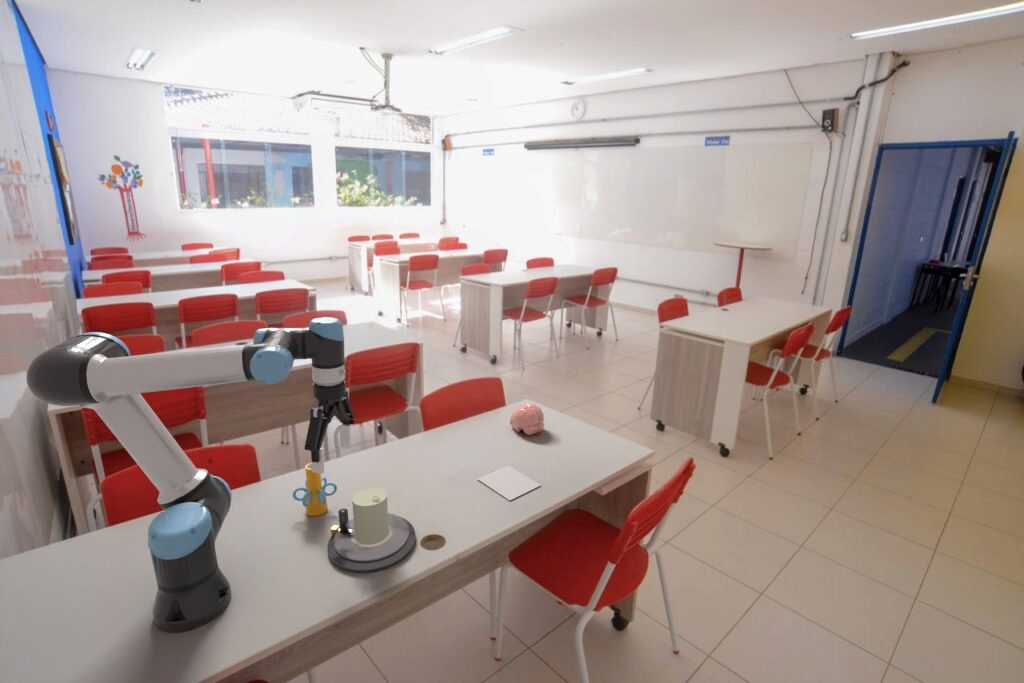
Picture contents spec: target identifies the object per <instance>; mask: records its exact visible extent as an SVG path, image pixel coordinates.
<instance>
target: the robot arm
mask: <svg viewBox="0 0 1024 683" xmlns="http://www.w3.org/2000/svg"><path fill="white" fill-rule="evenodd" d="M252 342H253V344H245V345H244V344H243V345H233V346H232V345H231V346H223V347H212V348H210V347H209V348H202V349H201V348H200V349H191V350H181V351H171V352H170V351H169V352H160V353H149V354H139V355H131V351H130V349H129V348H128V346H127V345H126V343H124V342H123V341H122V340H121V339H119V338H118V337H116V336H114V335H112V334H109V333H105V332H99V331H90V332H85V333H81V334H78V335H75V336H72V337H70V338H68V339H66V340H64V341H63V342H60V343H58V344H57V345H55V346H54V347H52V348H49V349H48V350H45V351H42V352H41V353H39V354H38V355H37V356H36V357H35V358H33V360H32V361H31V362H30V364H29V366H28V368H27V371H26V384H27V388H29V390H30V391H31V393H32V395H34V396H35V397H36V398H37V399H38V400H40V401H42V402H44V403H47V404H49V405H53V406H58V407H59V406H60V407H75V406H76V407H77V406H79V407H80V408H84V409H91V410H94V412H95V413H96V414H97V415H98V417H100V420H102V421H103V423H104V424H105V425H106V427H107V428H108V429H109V430H110V431H111V433H112V434H113V435H114V437H115V438H116V439H117V440H118V441H119V443H120V444H121V446H122V447H123V448H124V449H125V451H127V453H128V454H129V456H130V457H131V458H132V459H133V460H134V462H135V463H136V464H137V465H138V466H139V468H140V469H141V470H142V471H143V473H144V474H145V475H146V477H147V478H148V479H149V481H150V482H151V483H152V484H153V485H154V486H155V488H156V489H157V490H158V492H159V493H158V497H157V503H158V505H159V506H160V507H161V509H163V510H164V511H161V512H160V513H159V514H157V515H156V516H155V517H154V518H153V519H152V521H151V522H150V524H149V526H148V530H147V545H148V549H149V552H150V556H151V561H152V566H153V571H154V576H155V579H156V584H157V589H156V590H157V591H156V594H155V599H154V604H153V607H152V615H153V622H154V624H155V626H156V627H157V628H158V629H160V630H161V631H164V632H168V633H180V632H186V631H190V630H193V629H196V628H199V627H201V626H204V625H206V624H207V623H209V622H211V621H212V620H214V619H215V618H217V617H218V616H219V615H220V614H221V613H222V612H223V611H225V609H226V608H227V607H228V605H229V604H230V601H231V599H232V590H231V584H230V582H229V580H228V578H227V577H226V575H224V573H223V571H222V570H221V569H220V567H219V564H218V557H217V551H216V540H217V538H218V535H219V533H220V530H221V528H222V527H223V524H224V522H225V519H226V517H227V515H228V513H229V512H230V508H231V504H232V503H231V502H232V498H233V497H232V491H231V488H230V486H229V484H228V483H227V481H225V480H224V479H223V478H221V477H219V475H218V476H214V475H213V474H211V473H210V472H209V471H208V470H207V469H205V468H197V467H196V466H195V464H194V463H193V461H192V460H191V459H190V458H189V457H188V456H187V453H186V452H184V450H183V448H181V446H180V445H179V443H178V442H177V441H176V439H175V438H174V437H173V435H172V434H171V433H170V431H169V430H168V429H167V427H166V426H165V425H164V423H163V422H162V421H161V419H160V418H159V416H158V415H157V414H156V413H155V411H154V410H153V409H152V408H151V406H150V405H149V404H148V402H147V401H146V399H145V398H144V397H143V395H142V394H144V393H152V392H153V393H154V392H161V391H171V390H178V389H179V390H180V389H186V388H197V387H205V386H213V385H223V384H231V383H239V382H248V381H249V382H250V381H257V382H260V383H262V384H266V385H274V384H278V383H280V382H282V381H283V380H285V379H286V378H287V376H288V375H289V373H290V372H291V371H292V369H293V368H294V367H293V366H294V361H295V360H309V359H310V360H311V376H312V381H313V383H312V388H313V390H312V391H313V397H314V398H315V399H316V400H317V401H318V405H317V407H316V408H315V407H311V408H310V416H309V417H310V418H309V423H308V429H307V434H306V439H305V443H304V450H305V451H310V456H311V463H312V472H314V473H321V475H323V474H324V473H325V461H324V460H325V458H324V447H322V445H323V442H324V438H325V436H326V432H327V429H328V425H329V424H330V423H331V422H332V419H334V417H335V416H336V418H337V419H338V421H340V423H339V427H338V428H339V448H344V449H351V448H352V442H351V441H352V439H351V438H352V437H351V425H354V424H355V420H354V419H355V417H356V415H355V412H354V409H353V407H352V404H351V401H350V398H349V391H348V390H346V388H347V387H346V380H345V378H346V375H345V374H346V371H347V370H346V367H345V335H344V325H343V322H342V320H340V319H339V318H337V317H330V316H329V317H328V316H325V317H324V316H323V317H317V318H316V317H315V318H313V319H312V320H310V321H309V326H306V327H274V326H273V327H267V328H266V327H265V328H258V329H257V330H256V331H255V332H254V335H253V341H252Z"/></svg>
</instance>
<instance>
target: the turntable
mask: <svg viewBox="0 0 1024 683" xmlns="http://www.w3.org/2000/svg"><path fill="white" fill-rule="evenodd" d="M401 517H402V516H399V515H396V514H394V513H389V512H388V525H389V535H388V536H387V537H386V538H385V539H384V540H383V541H381V542H378V543H375V544H361V543H359V542H357V541H356V540H355V538H354V534H355V531H354V517H353V518H352V519H350V520H349V511H348V509H347V508H341V509H339V510H338V522H339V524H338V526H339V527H340V528H339V529H338V531H337V532H336V534H335V537H334V547H335V551H336V553H337V554H338V555H339V556H340V557H341V558H343V559H345V560H347V561H350V562H354V563H372V562H378V561H381V560H384V559H387V558H389V557H391V556H393V555H395V554H396V553H398V552H399V551H400V550H401V549H402V548H403V547H404V546H405V545H406V543H407V541H408V538H409V527H408V525H407V523H406V522H405V521H404V520H403V519H402V518H403V517H402V518H401Z"/></svg>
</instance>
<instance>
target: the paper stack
mask: <svg viewBox="0 0 1024 683" xmlns="http://www.w3.org/2000/svg"><path fill="white" fill-rule="evenodd" d="M476 479H477V480H478V481H479V482H481V483H483V484H484V485H485V486H487V487H488V488H490V489H491V490H493V491H494V492H496V493H498V494H499V495H501V496H502V497H504V498H505V499H507V500H508V501H512V500H514V499H516V498H518V497H520V496H522V495H524V494H527V493H528V492H530V491H532V490H535V489H536V488H539V487H541V486H542V484H540V483H539V482H537V481H535V480H534V479H531V478H530V477H528V476H526V475H525V474H523V472H522V473H521V472H520V471H519V470H516V469H514V468H513V467H512V466H510V465H506V466H503V467H501V468H498V469H496V470H494V471H492V472H490V473H487V474H484V475H482V476H480V477H478V478H476Z"/></svg>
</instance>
